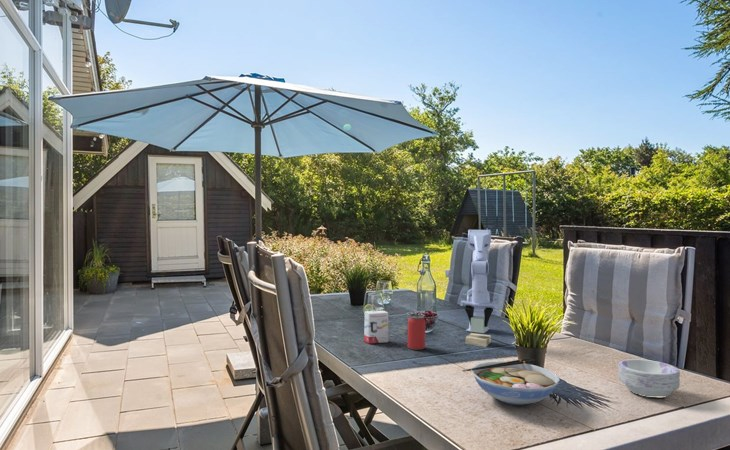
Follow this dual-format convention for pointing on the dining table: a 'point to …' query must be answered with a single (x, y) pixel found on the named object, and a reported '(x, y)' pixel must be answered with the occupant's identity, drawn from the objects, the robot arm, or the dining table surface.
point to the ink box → (376, 327)
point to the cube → (477, 324)
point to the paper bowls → (648, 377)
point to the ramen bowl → (515, 381)
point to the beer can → (416, 332)
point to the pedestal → (478, 339)
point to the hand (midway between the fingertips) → (478, 325)
